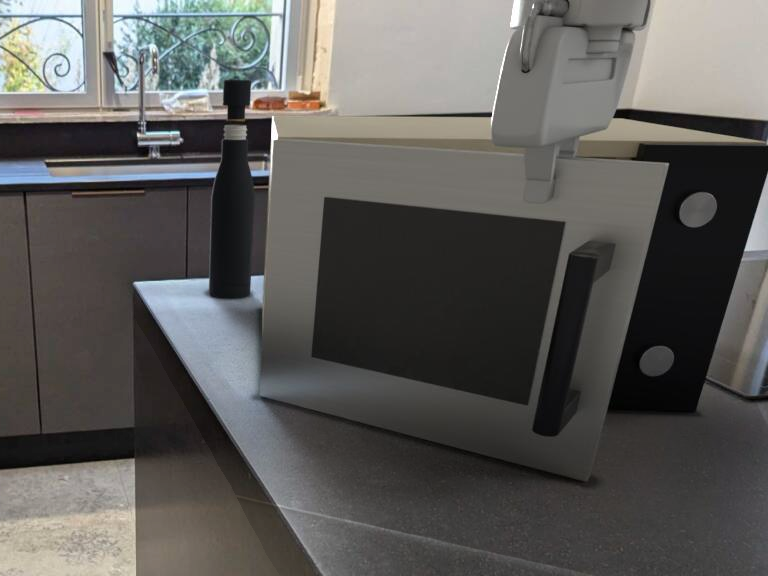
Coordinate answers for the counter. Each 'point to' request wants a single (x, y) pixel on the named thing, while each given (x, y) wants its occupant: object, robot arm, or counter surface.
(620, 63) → the robot arm
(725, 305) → the microwave
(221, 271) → the black screw-cap bottle
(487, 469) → the counter surface
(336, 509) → the counter surface
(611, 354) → the microwave door
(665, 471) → the counter surface
